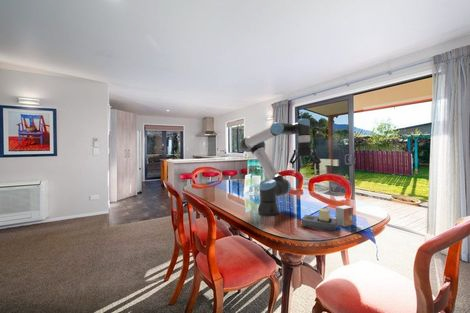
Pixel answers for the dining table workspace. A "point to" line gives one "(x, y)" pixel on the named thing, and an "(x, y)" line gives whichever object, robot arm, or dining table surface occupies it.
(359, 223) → the dining table surface
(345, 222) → the small box
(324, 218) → the beige square peg
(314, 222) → the grey square hole block
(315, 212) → the dining table surface
